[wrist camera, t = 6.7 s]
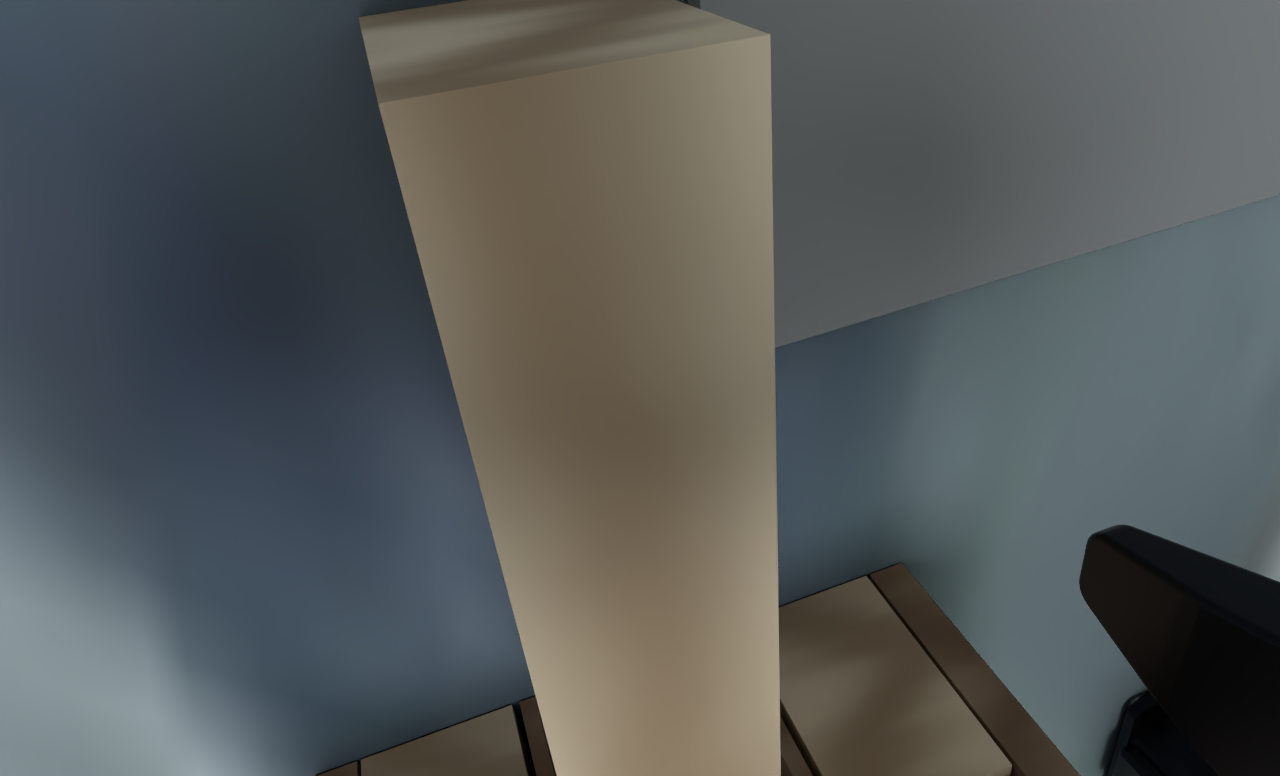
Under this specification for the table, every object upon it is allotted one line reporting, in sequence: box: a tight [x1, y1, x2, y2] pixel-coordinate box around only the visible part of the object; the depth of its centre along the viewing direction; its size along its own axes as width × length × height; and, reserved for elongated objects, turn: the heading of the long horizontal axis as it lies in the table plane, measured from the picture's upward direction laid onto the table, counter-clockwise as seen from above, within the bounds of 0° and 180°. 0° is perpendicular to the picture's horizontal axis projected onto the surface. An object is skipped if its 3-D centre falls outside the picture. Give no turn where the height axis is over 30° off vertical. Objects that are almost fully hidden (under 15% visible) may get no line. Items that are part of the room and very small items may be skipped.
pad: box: [687, 0, 1280, 348], centre depth 17 cm, size 16×7×1 cm, turn 98°
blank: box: [358, 0, 781, 776], centre depth 15 cm, size 4×14×6 cm, turn 5°
